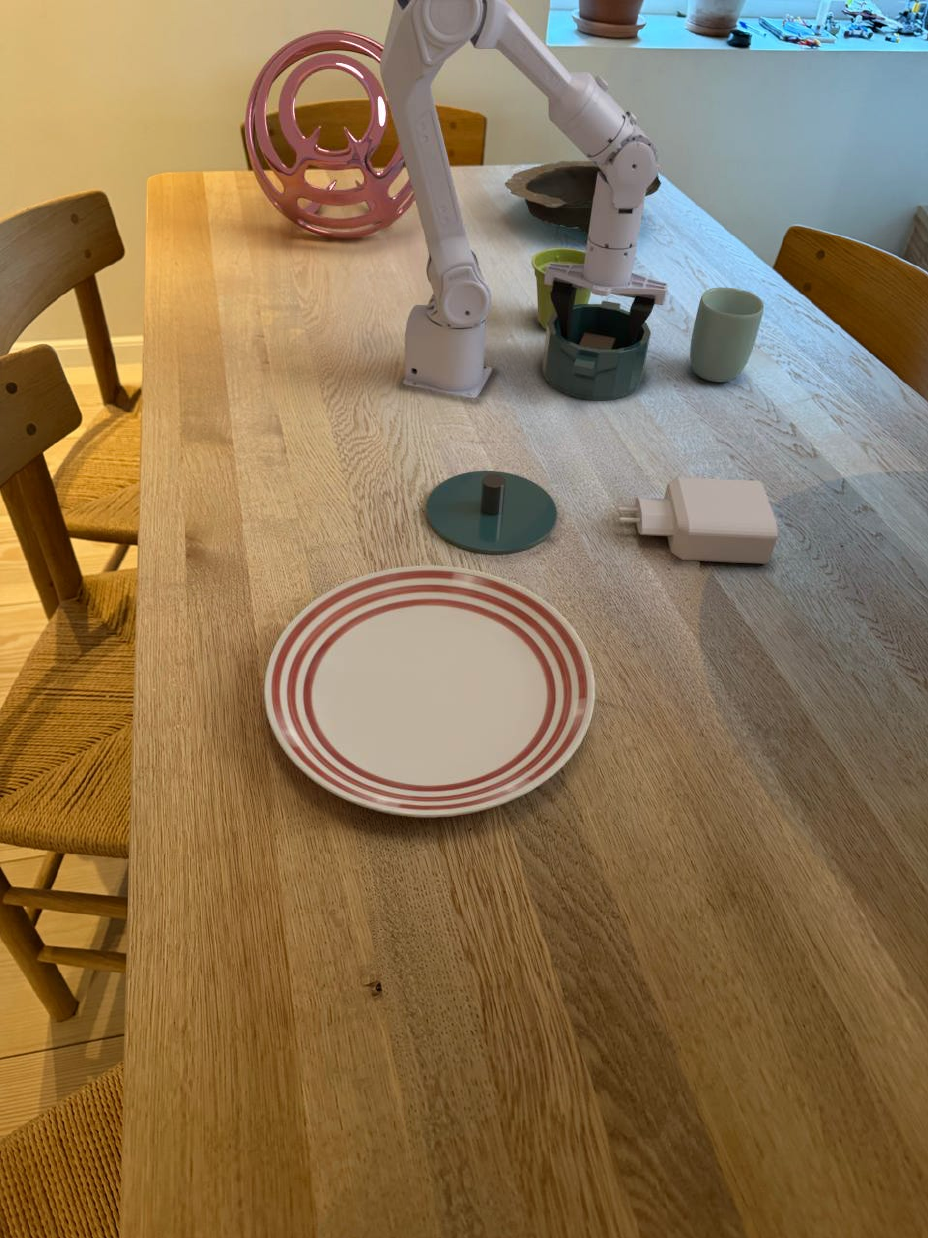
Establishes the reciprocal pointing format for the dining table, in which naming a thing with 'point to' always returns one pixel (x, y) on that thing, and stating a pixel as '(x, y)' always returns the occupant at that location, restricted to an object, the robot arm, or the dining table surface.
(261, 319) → the dining table surface
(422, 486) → the dining table surface
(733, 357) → the cup
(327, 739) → the dinner plate
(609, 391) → the pot
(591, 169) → the stone bowl
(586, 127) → the robot arm
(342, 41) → the pink openwork sphere
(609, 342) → the block
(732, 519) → the charger
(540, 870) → the dining table surface
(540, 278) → the plant pot
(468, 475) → the lid
